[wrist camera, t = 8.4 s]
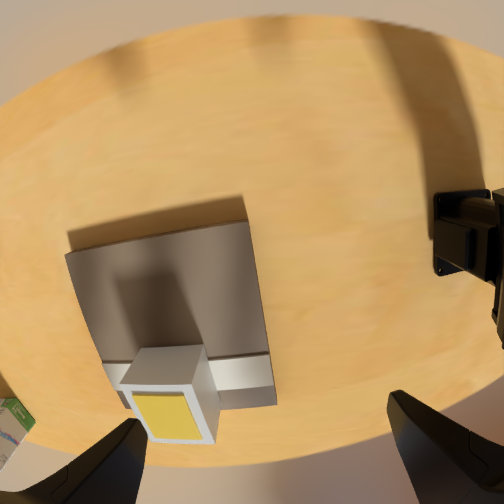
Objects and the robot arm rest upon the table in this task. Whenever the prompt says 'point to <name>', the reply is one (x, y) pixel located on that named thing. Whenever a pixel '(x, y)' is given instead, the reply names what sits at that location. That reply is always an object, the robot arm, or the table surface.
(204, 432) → the block
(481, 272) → the robot arm
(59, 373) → the table surface
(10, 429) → the ink box
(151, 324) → the subfloor board
